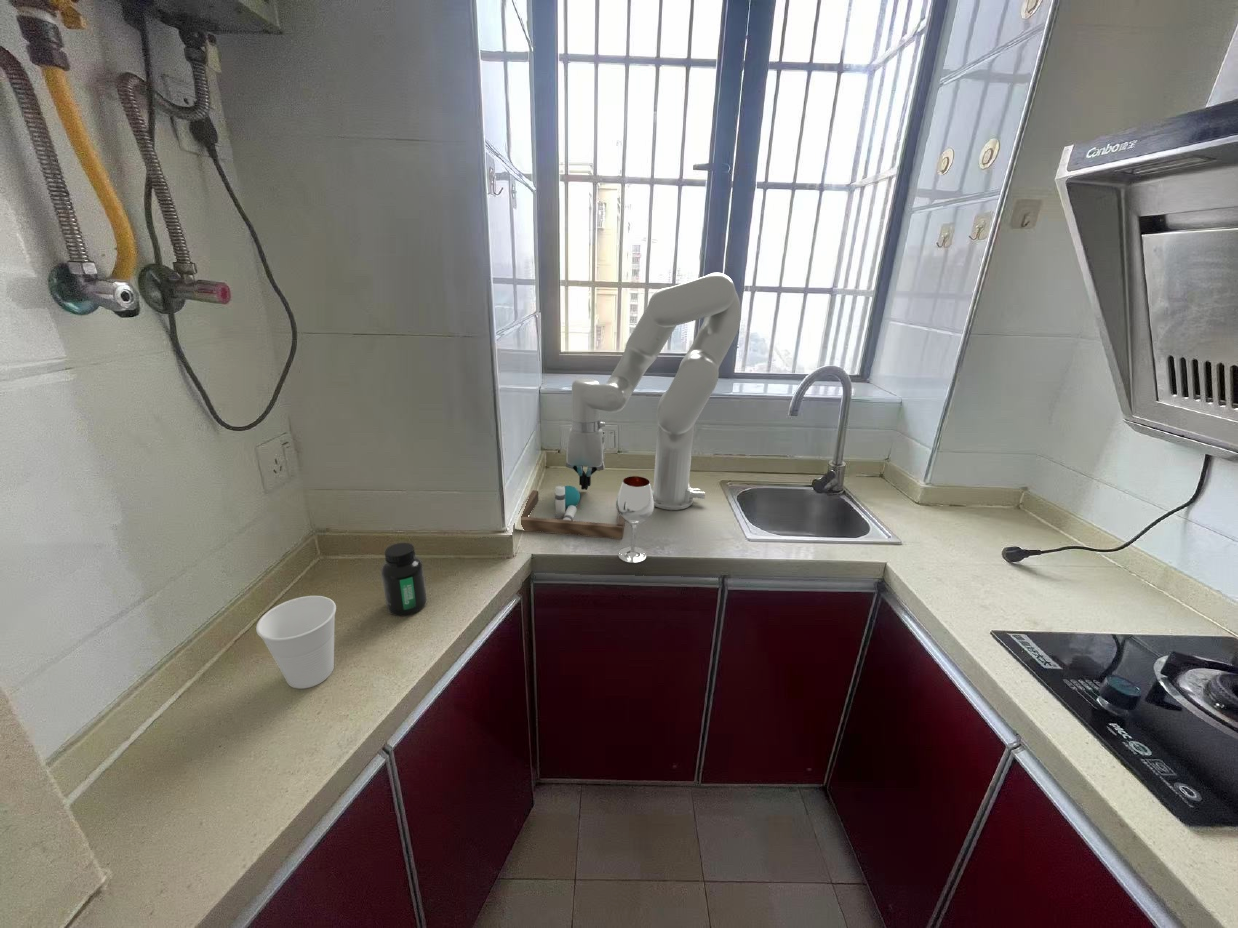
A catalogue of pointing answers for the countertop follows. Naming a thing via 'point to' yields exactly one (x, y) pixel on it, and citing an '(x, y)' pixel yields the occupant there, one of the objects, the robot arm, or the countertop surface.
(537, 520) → the wooden u-shaped frame
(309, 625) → the cup
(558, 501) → the pin
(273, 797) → the countertop surface
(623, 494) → the wineglass
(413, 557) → the supplement bottle
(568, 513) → the pin
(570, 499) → the ball
